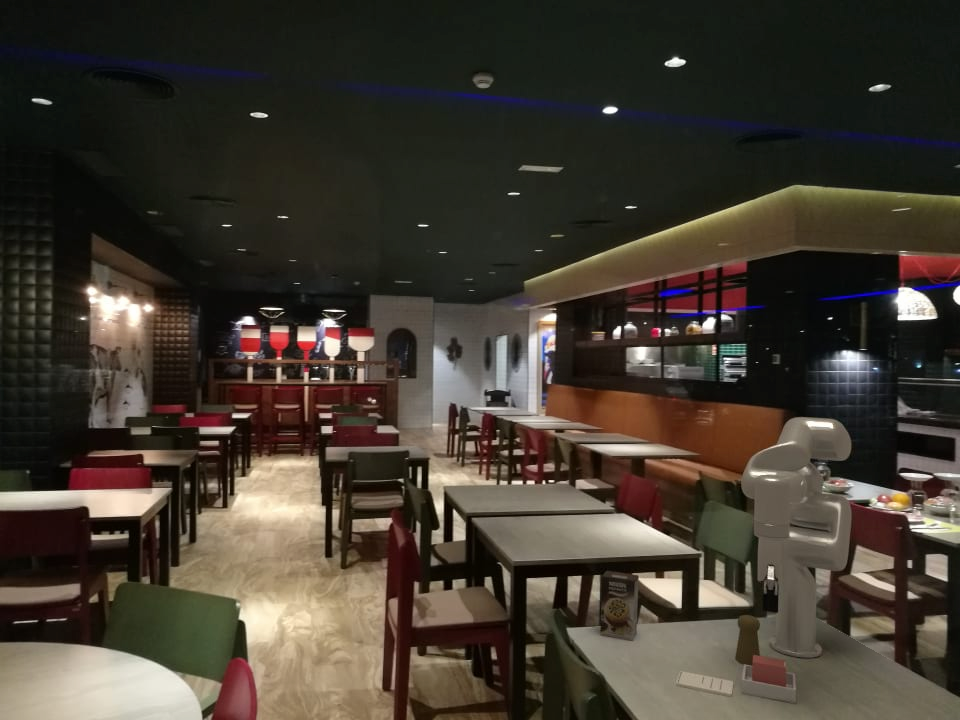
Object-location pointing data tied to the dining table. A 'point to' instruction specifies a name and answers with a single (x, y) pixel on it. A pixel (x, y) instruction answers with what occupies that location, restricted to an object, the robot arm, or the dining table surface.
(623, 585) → the coffee box
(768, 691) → the tray
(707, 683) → the ticket
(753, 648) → the cork
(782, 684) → the red block with stripe
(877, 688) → the dining table surface
